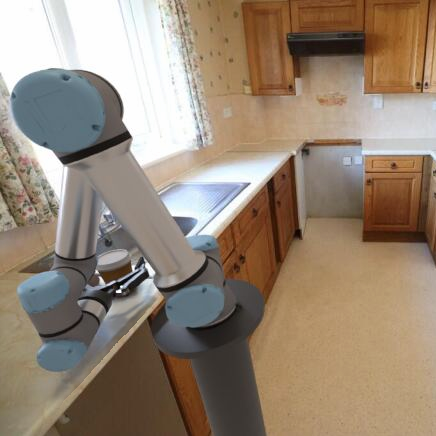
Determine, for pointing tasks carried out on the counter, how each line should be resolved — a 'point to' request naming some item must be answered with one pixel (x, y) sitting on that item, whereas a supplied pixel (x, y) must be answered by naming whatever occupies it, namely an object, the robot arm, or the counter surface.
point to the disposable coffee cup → (114, 265)
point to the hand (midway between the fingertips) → (118, 264)
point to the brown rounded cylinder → (94, 281)
